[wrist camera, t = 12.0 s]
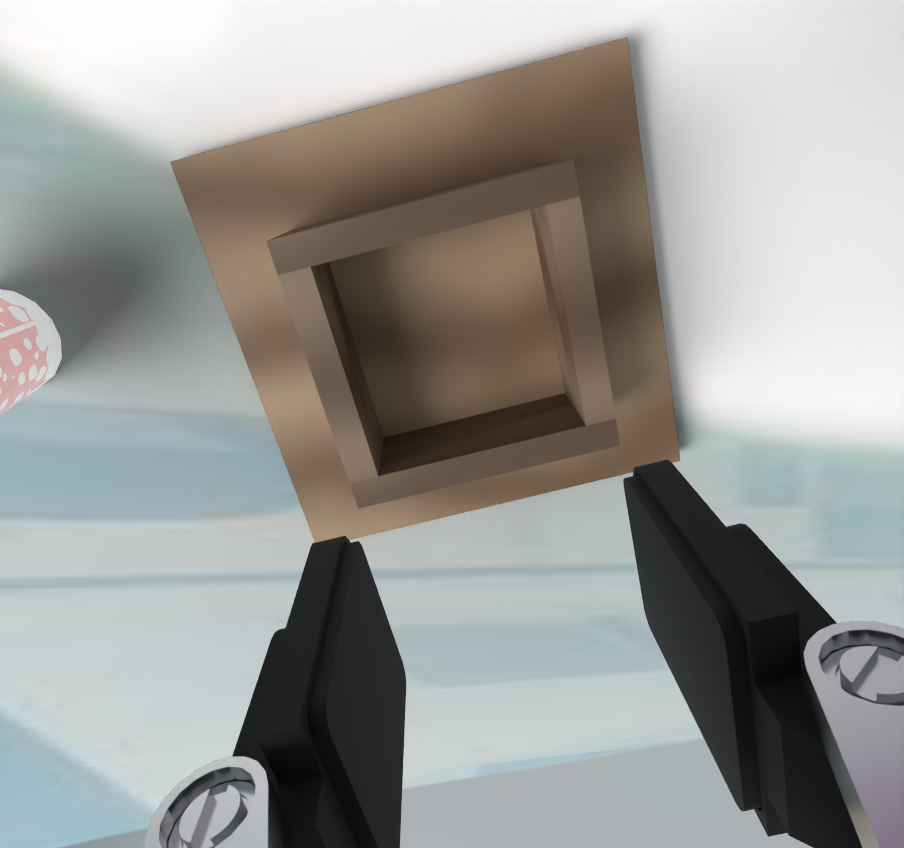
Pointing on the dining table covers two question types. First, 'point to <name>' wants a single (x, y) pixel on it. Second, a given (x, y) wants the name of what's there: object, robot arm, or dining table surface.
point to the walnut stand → (447, 293)
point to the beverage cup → (25, 348)
